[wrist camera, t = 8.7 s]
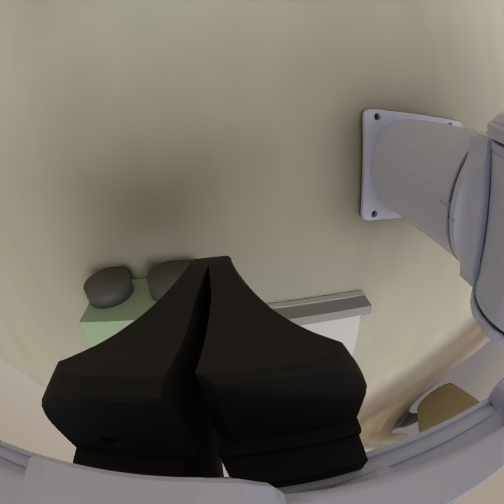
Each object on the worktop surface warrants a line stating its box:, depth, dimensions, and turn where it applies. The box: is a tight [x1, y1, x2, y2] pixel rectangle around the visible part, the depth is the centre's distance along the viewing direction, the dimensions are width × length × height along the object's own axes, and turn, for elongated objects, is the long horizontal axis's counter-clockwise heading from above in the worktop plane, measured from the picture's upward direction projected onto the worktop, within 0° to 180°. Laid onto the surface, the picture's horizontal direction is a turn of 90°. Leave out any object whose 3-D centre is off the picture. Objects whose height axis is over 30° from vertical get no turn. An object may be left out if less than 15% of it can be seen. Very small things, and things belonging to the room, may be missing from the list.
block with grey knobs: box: [79, 260, 372, 356], centre depth 23 cm, size 21×20×6 cm
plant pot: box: [417, 383, 480, 433], centre depth 29 cm, size 15×15×16 cm
